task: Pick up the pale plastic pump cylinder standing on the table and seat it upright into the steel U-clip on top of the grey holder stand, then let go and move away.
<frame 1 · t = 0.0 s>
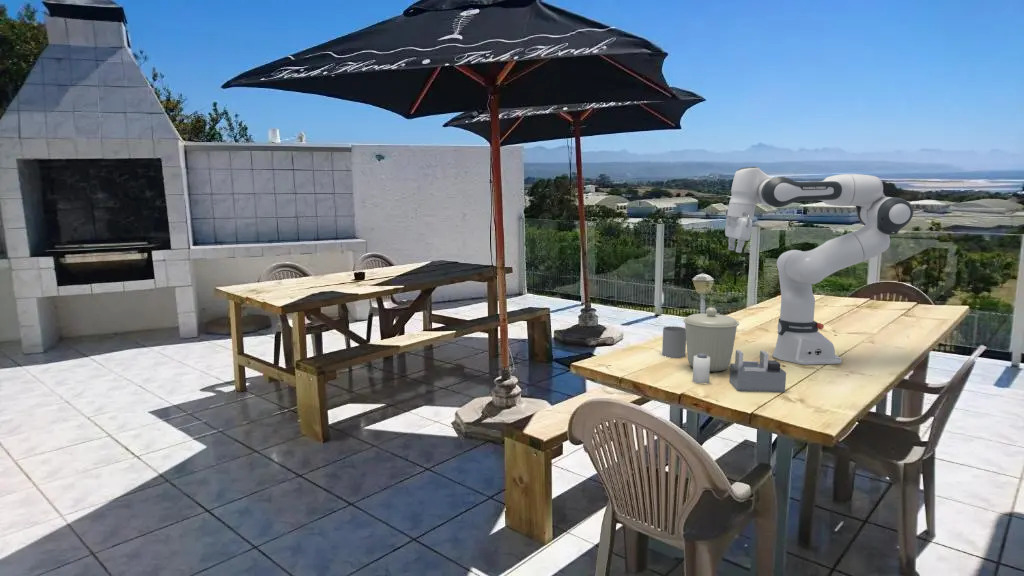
hand: (734, 251, 217), 39 cm above the table, tool pointing down, fingers open, 8 cm apart
cup: (673, 355, 224), on the table
grey holder stand: (756, 386, 187), on the table
canister: (708, 368, 208), on the table
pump: (700, 381, 192), on the table
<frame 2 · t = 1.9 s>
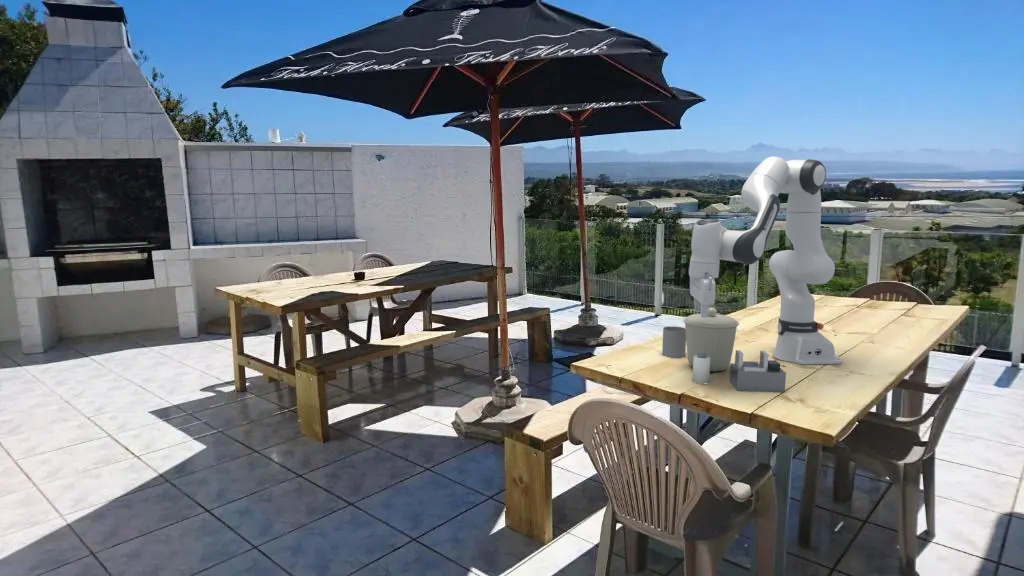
hand: (700, 314, 191), 21 cm above the table, tool pointing down, fingers open, 8 cm apart
nothing on the table moved.
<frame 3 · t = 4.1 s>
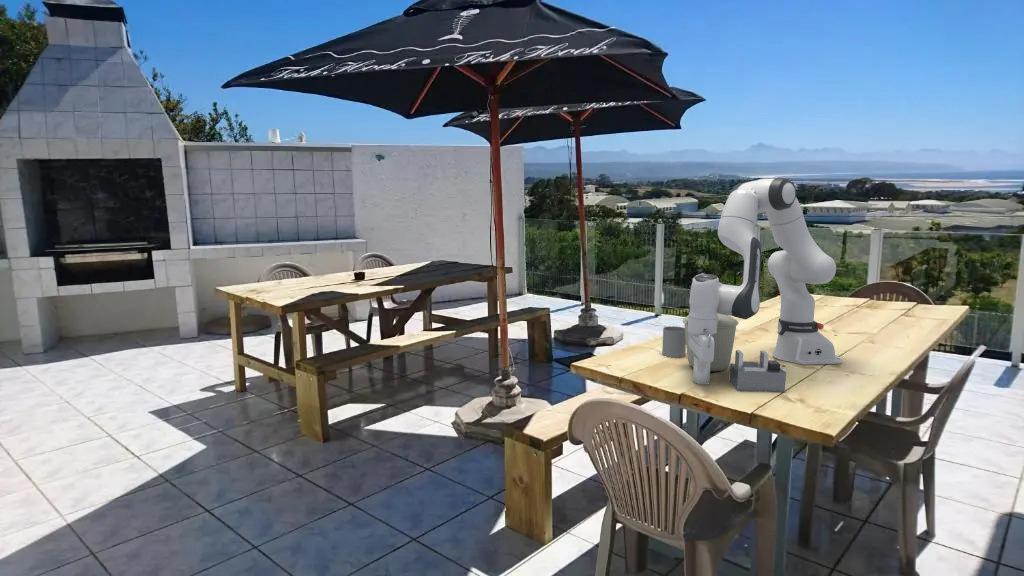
hand: (699, 369, 191), 4 cm above the table, tool pointing down, fingers closed on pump, 5 cm apart
canister: (708, 367, 208), on the table, touching arm
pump: (701, 382, 192), on the table, touching gripper
everything else where it was.
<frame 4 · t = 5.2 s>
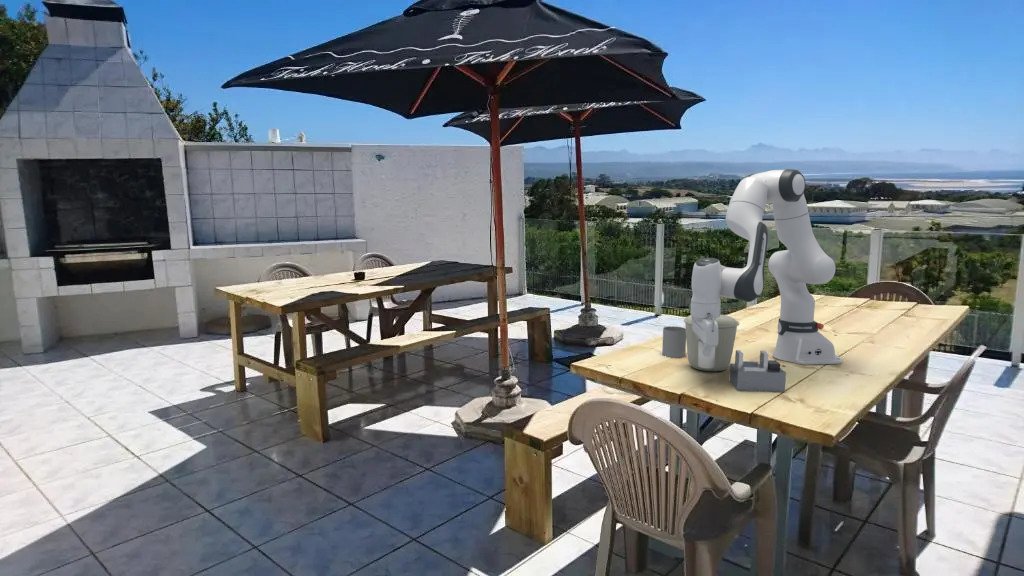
hand: (704, 353, 191), 9 cm above the table, tool pointing down, fingers closed on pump, 5 cm apart
canister: (708, 368, 208), on the table
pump: (706, 366, 192), point 5 cm above the table, touching gripper
everything else where it was.
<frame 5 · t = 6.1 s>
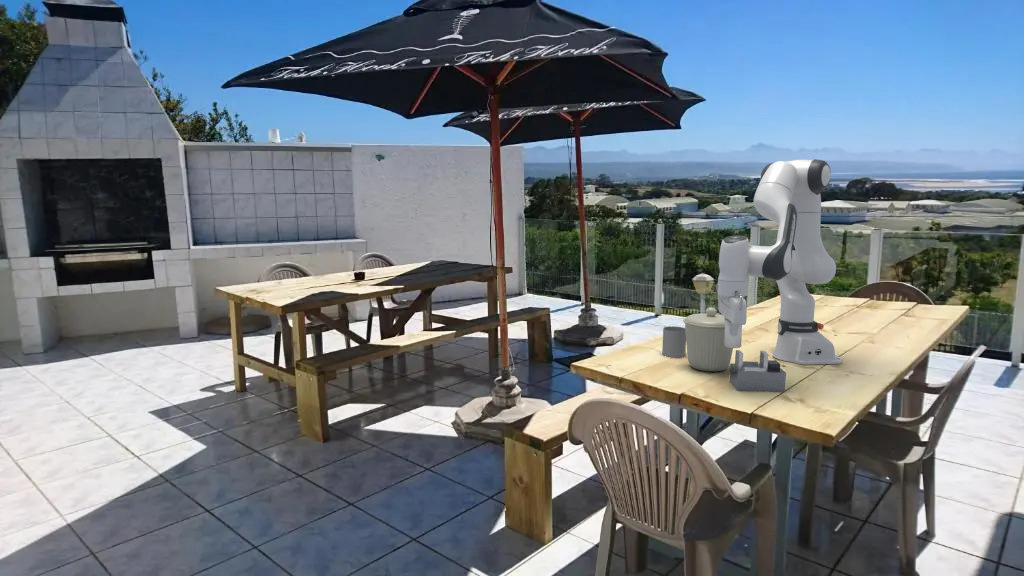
hand: (731, 333, 188), 16 cm above the table, tool pointing down, fingers closed on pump, 5 cm apart
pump: (732, 346, 188), point 12 cm above the table, touching gripper
everything else where it was.
when the fingers open (11 cm above the table, at t = 8.1 s): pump stays where it is, resting on grey holder stand.
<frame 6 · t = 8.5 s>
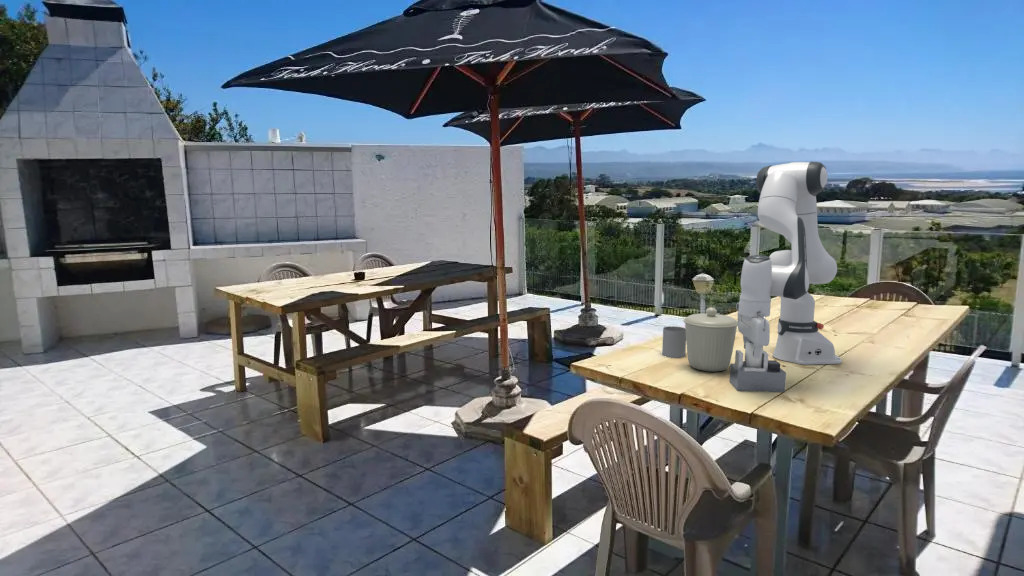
hand: (751, 353, 186), 11 cm above the table, tool pointing down, fingers open, 8 cm apart
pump: (752, 367, 186), point 6 cm above the table, touching grey holder stand
everything else where it was.
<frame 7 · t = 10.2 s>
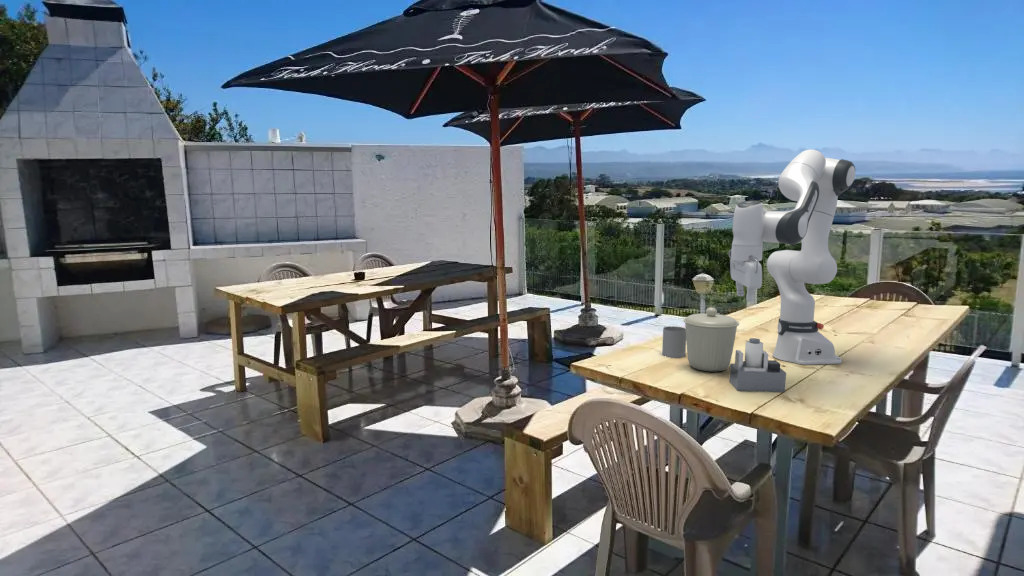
hand: (744, 298, 188), 27 cm above the table, tool pointing down, fingers open, 8 cm apart
nothing on the table moved.
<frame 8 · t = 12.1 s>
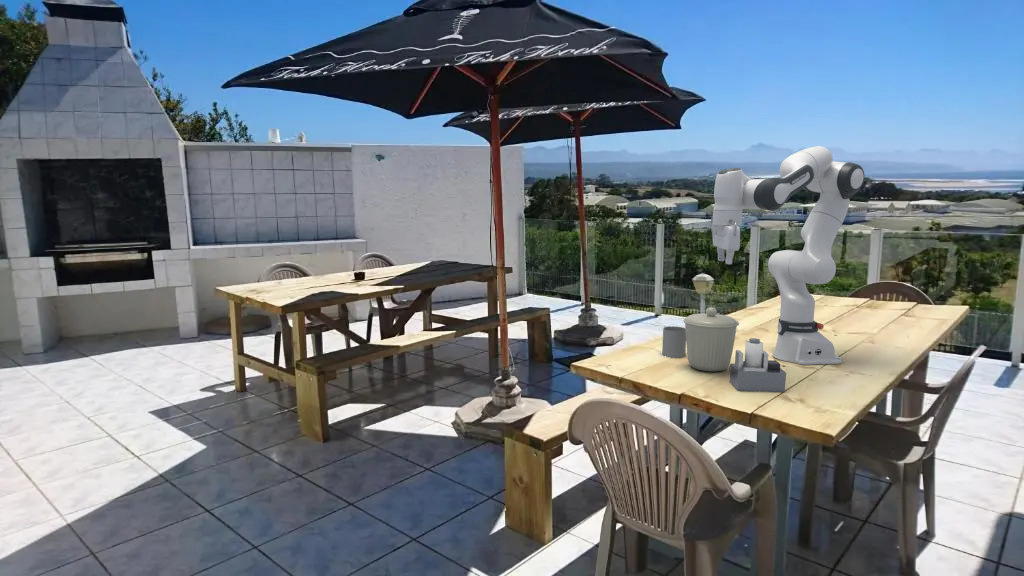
hand: (724, 262, 196), 37 cm above the table, tool pointing down, fingers open, 8 cm apart
nothing on the table moved.
at the end: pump 0.6 cm from the target spot on the grey holder stand, point 6.0 cm above the grey holder stand's base; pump tilted 0°; the gripper is holding nothing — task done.
